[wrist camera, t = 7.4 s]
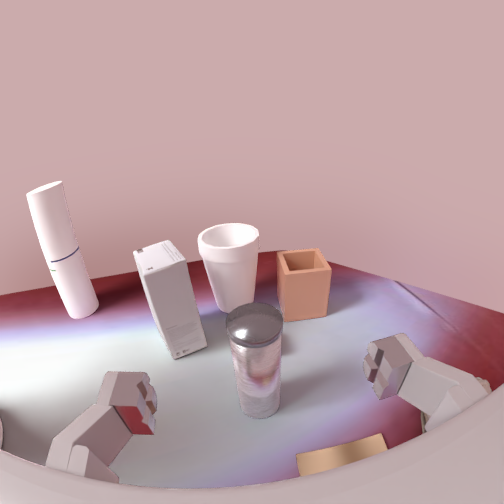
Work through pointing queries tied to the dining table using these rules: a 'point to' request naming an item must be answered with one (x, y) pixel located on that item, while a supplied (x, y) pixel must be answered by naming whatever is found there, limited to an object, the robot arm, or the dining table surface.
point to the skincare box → (171, 297)
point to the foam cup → (230, 262)
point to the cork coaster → (339, 455)
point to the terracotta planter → (303, 284)
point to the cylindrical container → (62, 249)
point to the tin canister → (256, 357)
